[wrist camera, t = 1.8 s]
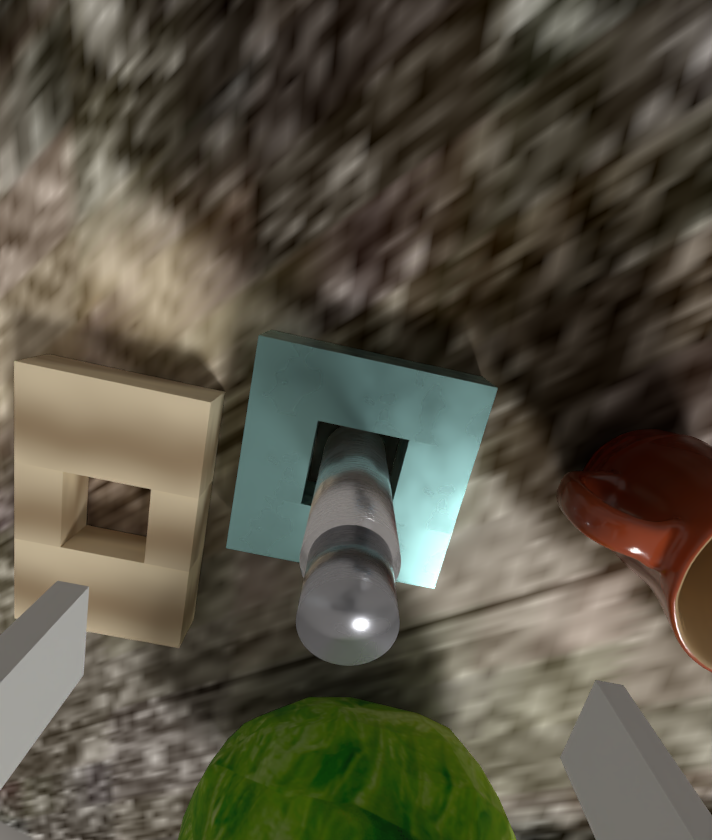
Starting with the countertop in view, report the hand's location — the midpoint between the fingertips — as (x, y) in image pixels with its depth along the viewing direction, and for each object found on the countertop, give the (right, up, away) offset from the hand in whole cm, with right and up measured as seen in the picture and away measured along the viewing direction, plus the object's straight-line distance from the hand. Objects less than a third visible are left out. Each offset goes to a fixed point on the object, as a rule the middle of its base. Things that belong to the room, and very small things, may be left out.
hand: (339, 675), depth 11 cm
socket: (0, +5, +15) cm, 16 cm away
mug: (+15, +4, +15) cm, 22 cm away
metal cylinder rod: (0, +5, +15) cm, 16 cm away
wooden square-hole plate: (-14, +2, +16) cm, 21 cm away
